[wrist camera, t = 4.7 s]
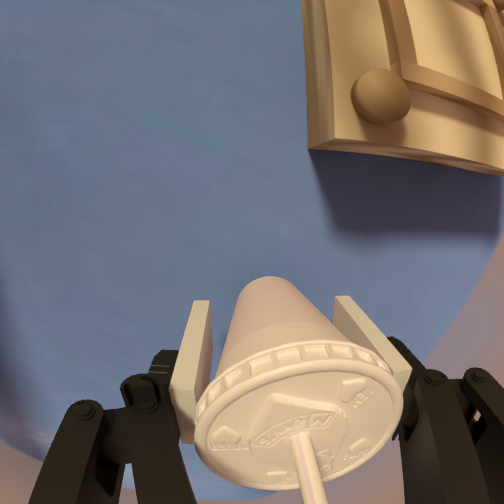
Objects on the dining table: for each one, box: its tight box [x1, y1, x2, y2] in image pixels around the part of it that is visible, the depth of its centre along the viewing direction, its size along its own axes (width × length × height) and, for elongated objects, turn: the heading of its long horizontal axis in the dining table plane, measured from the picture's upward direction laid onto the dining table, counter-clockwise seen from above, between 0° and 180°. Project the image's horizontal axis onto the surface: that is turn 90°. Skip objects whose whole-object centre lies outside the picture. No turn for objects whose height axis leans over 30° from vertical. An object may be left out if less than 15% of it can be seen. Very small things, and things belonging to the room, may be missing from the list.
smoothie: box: [194, 276, 403, 504], centre depth 9 cm, size 6×6×14 cm
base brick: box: [301, 0, 504, 176], centre depth 11 cm, size 16×16×6 cm
